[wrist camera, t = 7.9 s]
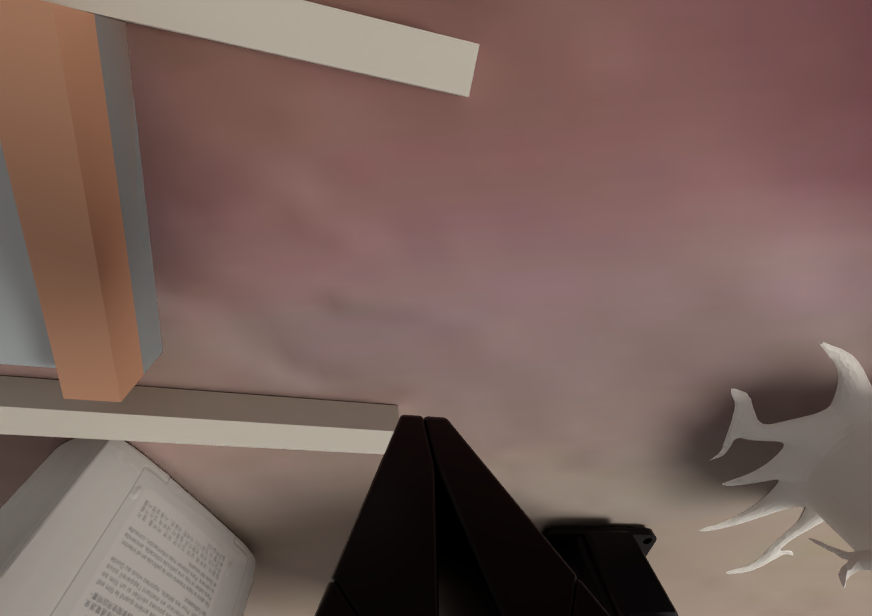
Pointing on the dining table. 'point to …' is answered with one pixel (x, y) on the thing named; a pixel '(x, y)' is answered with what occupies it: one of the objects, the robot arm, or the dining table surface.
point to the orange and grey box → (73, 203)
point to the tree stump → (815, 467)
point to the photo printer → (115, 541)
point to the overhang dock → (230, 412)
